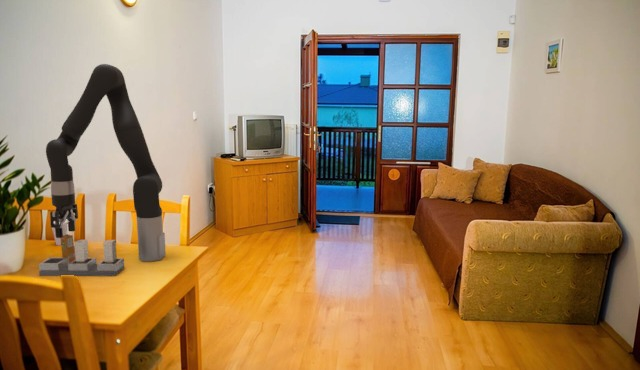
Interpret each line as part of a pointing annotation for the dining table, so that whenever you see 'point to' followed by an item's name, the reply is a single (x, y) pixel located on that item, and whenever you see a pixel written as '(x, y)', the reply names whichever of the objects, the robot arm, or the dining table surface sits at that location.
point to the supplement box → (67, 247)
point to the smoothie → (64, 228)
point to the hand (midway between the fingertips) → (65, 234)
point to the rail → (84, 262)
